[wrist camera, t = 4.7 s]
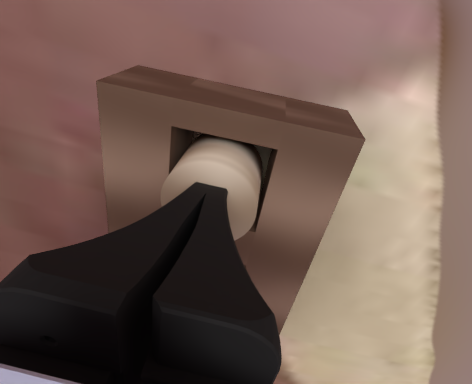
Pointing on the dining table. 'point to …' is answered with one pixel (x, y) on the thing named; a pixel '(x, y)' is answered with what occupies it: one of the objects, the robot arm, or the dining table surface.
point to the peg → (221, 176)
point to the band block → (241, 129)
